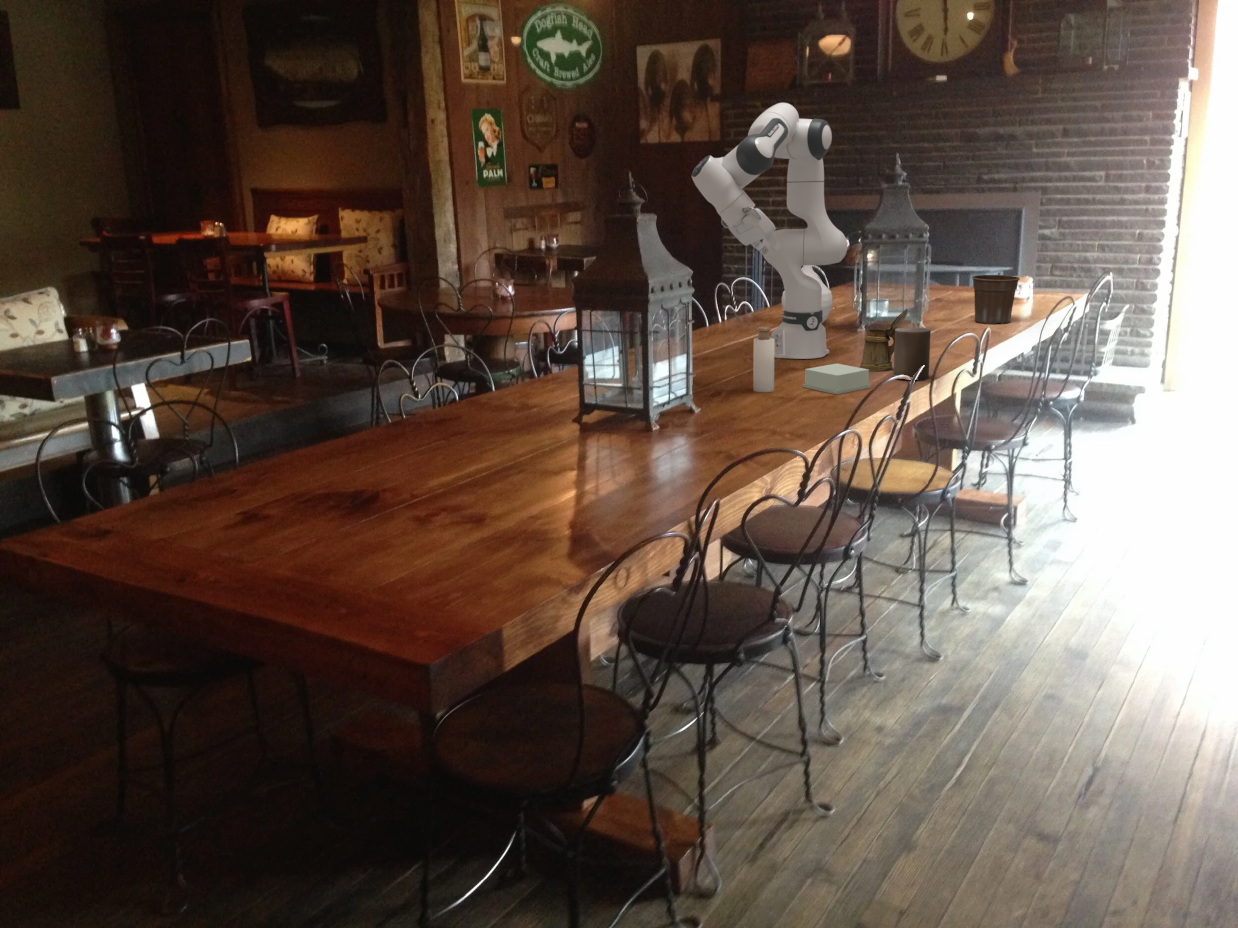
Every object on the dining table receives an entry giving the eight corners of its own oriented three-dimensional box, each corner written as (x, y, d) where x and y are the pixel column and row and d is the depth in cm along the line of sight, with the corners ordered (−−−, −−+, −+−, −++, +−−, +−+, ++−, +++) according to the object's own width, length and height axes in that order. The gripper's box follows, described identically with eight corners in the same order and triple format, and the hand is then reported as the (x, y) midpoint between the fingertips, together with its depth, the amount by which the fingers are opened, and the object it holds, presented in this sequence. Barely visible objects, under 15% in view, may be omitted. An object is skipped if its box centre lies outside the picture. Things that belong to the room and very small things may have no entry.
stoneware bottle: (749, 389, 307) (750, 327, 302) (768, 387, 309) (768, 325, 304) (759, 393, 302) (759, 330, 297) (777, 391, 303) (778, 328, 299)
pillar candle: (929, 381, 310) (932, 327, 306) (893, 380, 312) (895, 327, 308) (927, 375, 319) (930, 322, 315) (892, 374, 321) (894, 322, 317)
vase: (772, 323, 416) (773, 241, 408) (817, 320, 421) (819, 239, 413) (794, 330, 399) (796, 245, 391) (841, 326, 404) (843, 242, 396)
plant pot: (1021, 320, 408) (1024, 275, 403) (1010, 326, 395) (1013, 280, 390) (976, 317, 416) (978, 273, 412) (964, 324, 403) (966, 278, 399)
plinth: (802, 387, 307) (803, 369, 306) (836, 380, 314) (836, 363, 313) (836, 394, 297) (837, 376, 296) (870, 387, 304) (871, 369, 303)
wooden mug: (899, 373, 321) (901, 311, 316) (855, 369, 329) (856, 308, 324) (911, 368, 328) (913, 307, 323) (867, 364, 336) (869, 304, 331)
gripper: (759, 197, 286) (793, 238, 289) (736, 209, 306) (768, 248, 309) (741, 213, 286) (775, 254, 288) (719, 224, 306) (752, 263, 308)
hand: (771, 251), depth 299 cm, fingers open, 8 cm apart
